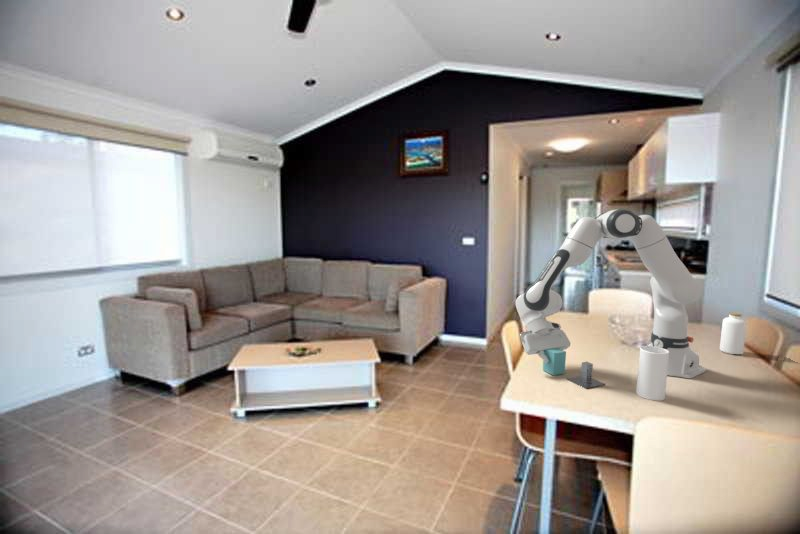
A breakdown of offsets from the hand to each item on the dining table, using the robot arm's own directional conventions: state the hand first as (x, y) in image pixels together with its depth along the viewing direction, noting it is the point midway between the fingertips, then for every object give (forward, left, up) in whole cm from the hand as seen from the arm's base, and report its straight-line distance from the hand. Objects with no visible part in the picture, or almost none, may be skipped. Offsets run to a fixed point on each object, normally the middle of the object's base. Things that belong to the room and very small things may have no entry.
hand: (555, 361), depth 156 cm
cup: (-16, +27, -5) cm, 32 cm away
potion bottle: (-93, +9, -5) cm, 93 cm away
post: (-4, +11, -5) cm, 13 cm away
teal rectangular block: (0, -1, -4) cm, 4 cm away
